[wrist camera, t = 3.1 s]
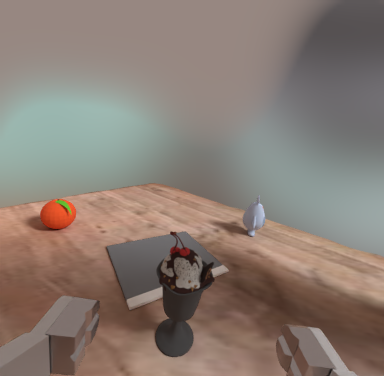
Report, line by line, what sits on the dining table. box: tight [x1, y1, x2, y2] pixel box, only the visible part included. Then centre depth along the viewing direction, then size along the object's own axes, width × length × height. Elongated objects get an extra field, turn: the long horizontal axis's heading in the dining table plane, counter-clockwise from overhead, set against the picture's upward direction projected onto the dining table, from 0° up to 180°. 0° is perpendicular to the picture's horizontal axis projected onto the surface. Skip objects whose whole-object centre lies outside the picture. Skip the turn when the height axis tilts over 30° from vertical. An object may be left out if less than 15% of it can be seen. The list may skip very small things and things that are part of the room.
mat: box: [107, 231, 228, 310], centre depth 39 cm, size 20×17×1 cm
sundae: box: [156, 232, 214, 357], centre depth 23 cm, size 7×7×15 cm
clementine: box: [40, 199, 76, 229], centre depth 44 cm, size 8×7×7 cm
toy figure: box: [243, 196, 265, 236], centre depth 56 cm, size 11×6×12 cm, turn 163°
